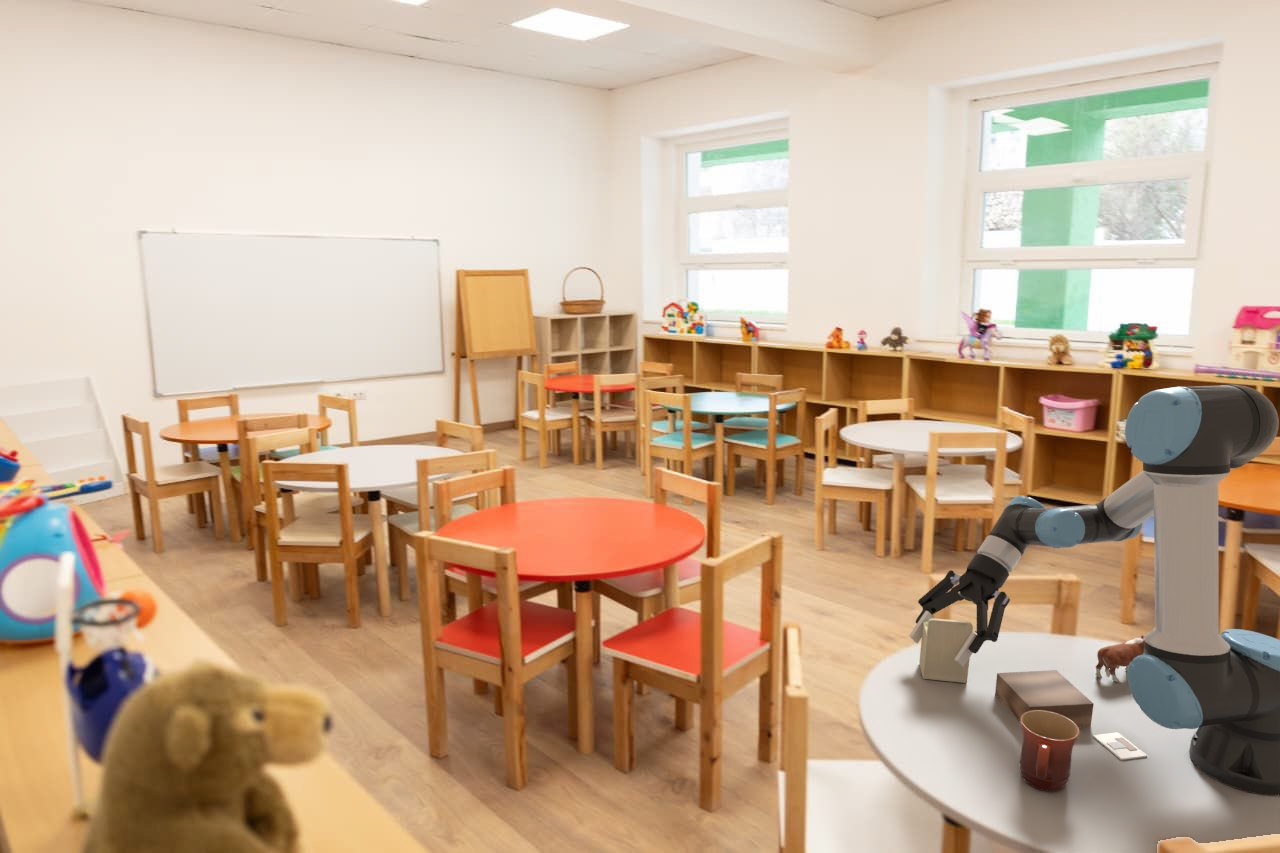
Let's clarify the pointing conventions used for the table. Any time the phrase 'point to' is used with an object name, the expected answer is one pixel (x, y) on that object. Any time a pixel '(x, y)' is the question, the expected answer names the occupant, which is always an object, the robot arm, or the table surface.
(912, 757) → the table surface
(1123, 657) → the bull figurine
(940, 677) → the toy sink
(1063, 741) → the mug
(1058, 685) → the walnut block
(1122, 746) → the card
